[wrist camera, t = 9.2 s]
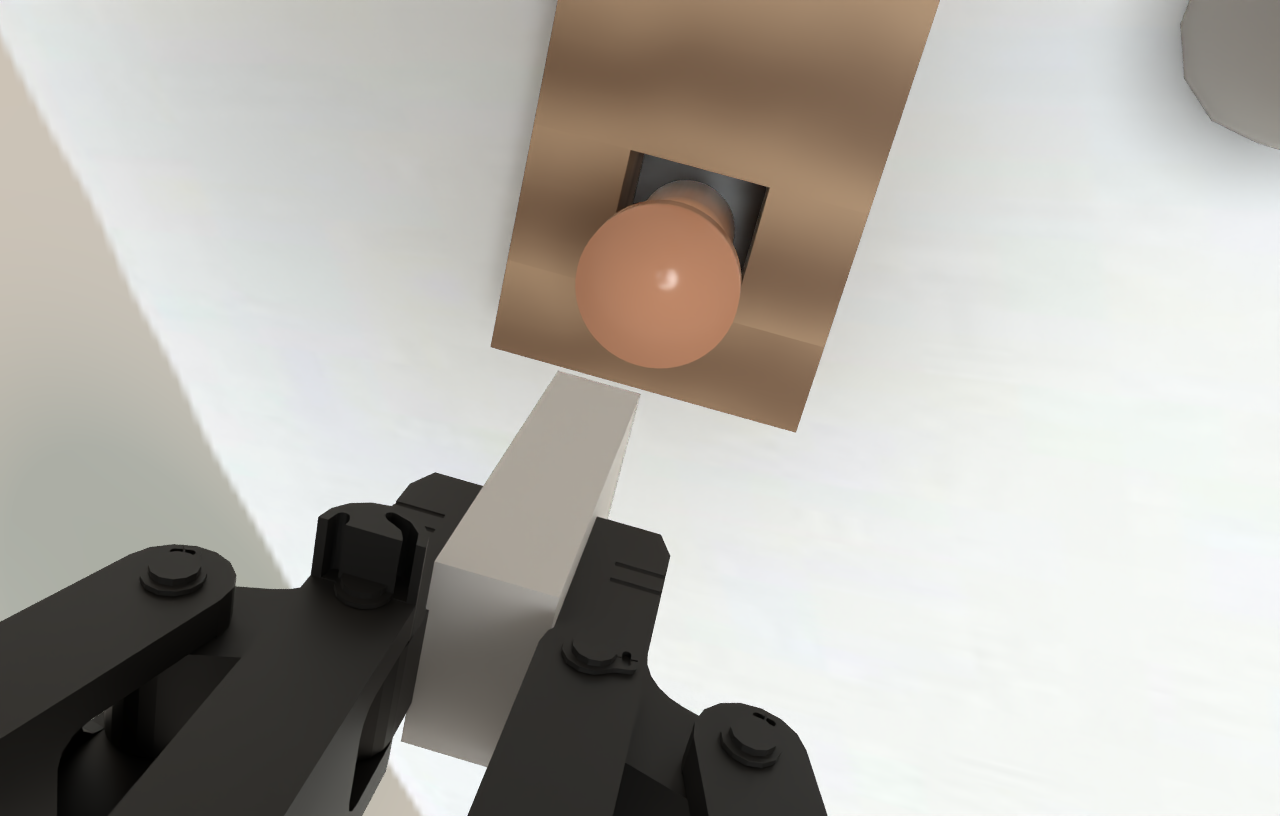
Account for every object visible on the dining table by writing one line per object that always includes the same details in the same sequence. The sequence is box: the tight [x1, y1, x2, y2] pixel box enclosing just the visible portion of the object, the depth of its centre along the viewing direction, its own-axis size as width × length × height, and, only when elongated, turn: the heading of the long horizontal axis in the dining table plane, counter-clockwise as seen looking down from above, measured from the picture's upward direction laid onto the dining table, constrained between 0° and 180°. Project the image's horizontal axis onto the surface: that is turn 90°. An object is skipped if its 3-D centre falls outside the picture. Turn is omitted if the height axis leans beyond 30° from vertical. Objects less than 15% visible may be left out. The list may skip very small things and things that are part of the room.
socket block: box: [491, 0, 940, 432], centre depth 36 cm, size 24×12×5 cm, turn 166°
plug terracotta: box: [575, 180, 742, 368], centre depth 33 cm, size 5×5×9 cm
